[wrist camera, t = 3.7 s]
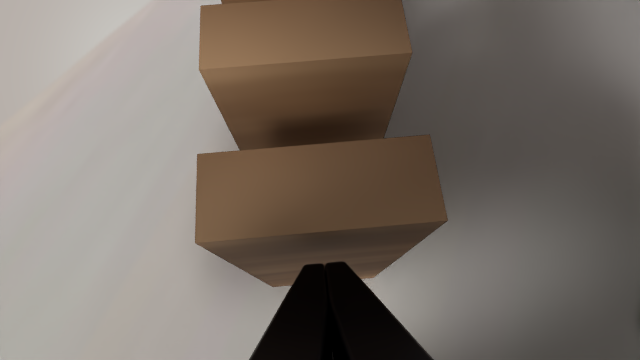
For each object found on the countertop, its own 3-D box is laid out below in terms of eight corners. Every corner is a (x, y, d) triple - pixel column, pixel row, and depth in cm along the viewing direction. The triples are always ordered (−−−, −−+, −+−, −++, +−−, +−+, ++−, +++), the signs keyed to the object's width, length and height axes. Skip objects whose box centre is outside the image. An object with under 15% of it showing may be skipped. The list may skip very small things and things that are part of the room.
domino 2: (362, 199, 17) (412, 52, 7) (269, 207, 17) (199, 69, 7) (358, 166, 17) (399, -10, 8) (267, 174, 17) (200, 5, 8)
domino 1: (373, 277, 16) (447, 220, 6) (272, 286, 16) (195, 242, 6) (368, 239, 16) (429, 134, 7) (271, 248, 16) (197, 154, 7)
